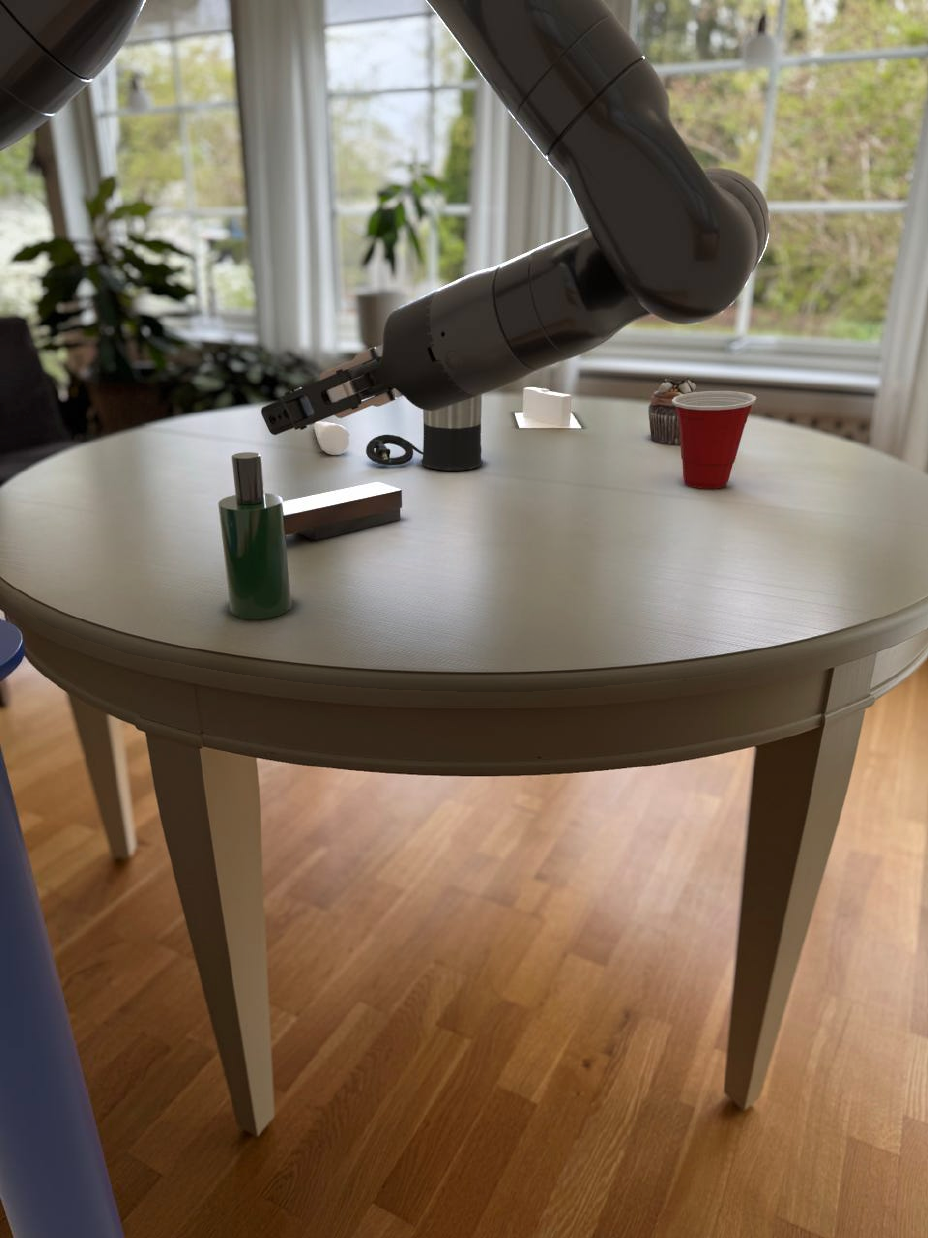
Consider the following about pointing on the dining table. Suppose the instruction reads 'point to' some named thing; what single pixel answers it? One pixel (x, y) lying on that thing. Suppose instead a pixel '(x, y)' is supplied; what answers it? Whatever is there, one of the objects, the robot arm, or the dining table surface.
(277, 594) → the green bottle
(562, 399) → the napkin holder
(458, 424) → the milk frother
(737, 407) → the plastic cup
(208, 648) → the dining table surface
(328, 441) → the unicorn horn
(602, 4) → the robot arm
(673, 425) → the cupcake
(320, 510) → the brush
